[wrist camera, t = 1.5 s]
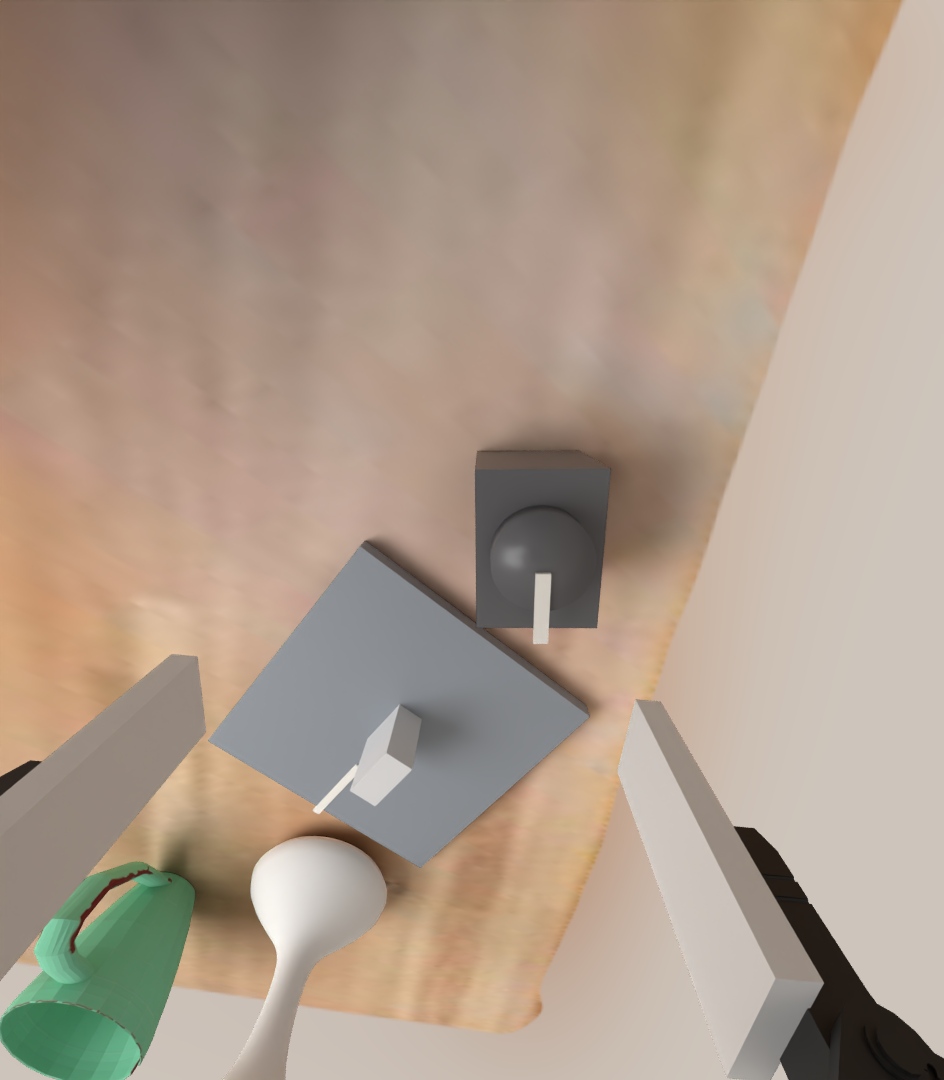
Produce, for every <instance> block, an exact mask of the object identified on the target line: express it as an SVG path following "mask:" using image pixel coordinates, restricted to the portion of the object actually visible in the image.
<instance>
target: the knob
mask: <svg viewBox="0 0 944 1080" xmlns="http://www.w3.org/2000/svg"><path fill="white" fill-rule="evenodd" d="M610 473H611V468H609V467H607V466H606V465H604V464H602V463H600V462H599V461H597V460H595V459H593V458H592V457H590V456H588V455H586V454H585V453H583V452H581V451H579V450H572V451H477V457H476V466H475V514H476V628H533V644H548V633H549V628H597V622H598V611H599V599H600V588H601V576H602V565H603V553H604V542H605V531H606V519H607V508H608V496H609V485H610Z"/></svg>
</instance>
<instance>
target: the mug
mask: <svg viewBox="0 0 944 1080" xmlns="http://www.w3.org/2000/svg"><path fill="white" fill-rule="evenodd" d="M130 880H134V881H136V882H138V884H137V885H136V886H134V887H133V888H132V889H131V890H129V891H128V892H127V893H126V894H124V895H123V896H122V897H121V898H119V899H118V900H117V901H116V902H115V903H114V904H112V905H111V906H110V907H109V908H108V909H107V910H106V911H105V912H104V913H102V914H101V915H100V916H99V917H98V918H97V919H96V920H95V921H93V922H92V923H91V924H90V925H89V926H88V927H87V928H86V929H85V930H83V931H82V932H81V933H80V934H79V935H78V933H79V931H80V929H81V926H82V924H83V922H84V920H85V919H86V918H87V916H88V915H89V914H90V913H91V912H92V910H93V909H94V908H95V907H96V905H97V904H98V903H99V902H100V901H101V899H102V898H103V897H104V896H105V894H106V893H107V892H108V891H109V890H110V889H113V888H115V887H117V886H119V885H121V884H123V883H125V882H128V881H130ZM194 901H195V890H194V888H193V886H192V885H191V884H190V883H189V882H188V881H187V880H186V879H184V878H183V877H181V876H179V875H176V874H173V873H169V872H160V871H158V870H156V869H155V868H153V867H151V866H150V865H148V864H146V863H143V862H132V863H128V864H125V865H122V866H119V867H116V868H113V869H110V870H107V871H103V872H100V873H97V874H94V875H92V876H89V877H87V878H85V879H84V880H83V881H82V883H81V884H80V885H79V886H78V887H77V889H76V890H75V891H74V892H73V893H72V895H71V896H70V897H69V898H68V900H67V901H66V902H65V903H64V904H63V906H62V907H61V908H60V909H59V910H58V912H57V913H56V914H55V915H54V916H53V918H52V919H51V920H50V921H49V923H48V924H47V925H46V926H45V927H44V929H43V930H42V932H41V934H40V937H39V939H38V942H37V944H36V946H35V949H34V953H35V955H36V958H37V960H38V962H39V965H40V967H41V968H42V970H43V971H42V973H40V975H39V976H38V977H37V978H36V979H35V980H34V981H33V982H32V983H31V984H30V985H29V986H28V987H27V988H26V989H25V990H24V991H23V992H22V993H21V994H20V995H19V996H18V997H17V998H16V999H15V1000H14V1001H13V1002H12V1004H11V1005H10V1006H9V1007H8V1009H7V1010H6V1011H5V1013H4V1014H3V1015H2V1017H1V1020H0V1039H1V1042H2V1044H3V1045H4V1046H5V1048H6V1049H7V1050H8V1052H9V1053H10V1054H11V1055H12V1056H13V1057H14V1058H16V1059H17V1060H18V1061H20V1062H21V1063H22V1064H24V1065H25V1066H26V1067H28V1068H30V1069H32V1070H34V1071H36V1072H38V1073H40V1074H42V1075H44V1076H47V1077H51V1078H54V1079H57V1080H125V1079H126V1078H127V1077H129V1076H130V1075H131V1074H132V1073H133V1072H134V1070H135V1069H136V1067H137V1065H140V1064H141V1062H142V1060H143V1058H144V1056H145V1055H146V1053H147V1051H148V1049H149V1046H150V1044H151V1042H152V1040H153V1037H154V1034H155V1031H156V1028H157V1025H158V1023H159V1020H160V1017H161V1015H162V1012H163V1009H164V1007H165V1004H166V1002H167V999H168V996H169V993H170V990H171V987H172V984H173V981H174V978H175V975H176V972H177V969H178V966H179V963H180V959H181V956H182V952H183V948H184V945H185V941H186V938H187V934H188V930H189V926H190V921H191V916H192V911H193V906H194ZM77 935H78V936H77Z"/></svg>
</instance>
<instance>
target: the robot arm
mask: <svg viewBox="0 0 944 1080" xmlns="http://www.w3.org/2000/svg"><path fill="white" fill-rule="evenodd" d="M205 732H206V726H205V717H204V709H203V700H202V691H201V682H200V674H199V665H198V657H196V656H186V655H175V654H171V655H170V656H169V657H168V658H167V659H165V660H164V661H163V662H162V663H161V664H159V665H158V666H157V667H156V668H154V669H153V670H152V671H151V672H150V673H148V674H147V675H146V676H145V677H144V678H142V679H141V680H140V681H139V682H138V683H136V684H135V685H134V686H133V687H132V688H130V689H129V690H128V691H127V692H126V693H124V694H123V695H122V696H121V697H119V698H118V699H117V700H116V701H115V702H113V703H112V704H111V705H110V706H109V707H107V708H106V709H105V710H104V711H103V712H101V713H100V714H99V715H98V716H97V717H95V718H94V719H93V720H92V721H91V722H89V723H88V724H87V725H86V726H85V727H83V728H82V729H81V730H80V731H78V732H77V733H76V734H75V735H74V736H72V737H71V738H70V739H69V740H68V741H66V742H65V743H64V744H63V745H62V746H60V747H59V748H58V749H57V750H56V751H54V752H53V753H52V754H51V755H50V756H48V757H47V758H46V759H45V760H43V761H31V760H30V761H29V762H27V763H25V764H23V765H21V766H19V767H17V768H16V769H14V770H12V771H10V772H8V773H6V774H5V775H3V776H1V777H0V981H1V979H2V978H3V977H4V976H5V975H6V973H7V972H8V971H9V970H10V969H11V967H12V966H13V965H14V964H15V962H16V961H17V960H18V959H19V958H20V956H21V955H22V954H23V953H24V952H25V950H26V949H27V948H28V947H29V946H30V944H31V943H32V942H33V941H34V939H35V938H36V937H37V936H38V935H39V933H40V932H41V931H42V930H43V929H44V927H45V926H46V925H47V924H48V923H49V921H50V920H51V919H52V918H53V916H54V915H55V914H56V913H57V912H58V910H59V909H60V908H61V907H62V906H63V904H64V903H65V902H66V901H67V900H68V898H69V897H70V896H71V895H72V893H73V892H74V891H75V890H76V889H77V887H78V886H79V885H80V884H81V883H82V881H83V880H84V879H85V878H86V877H87V875H88V874H89V873H90V872H91V870H92V869H93V868H94V867H95V866H96V864H97V863H98V862H99V861H100V860H101V858H102V857H103V856H104V855H105V854H106V852H107V851H108V850H109V849H110V847H111V846H112V845H113V844H114V843H115V841H116V840H117V839H118V838H119V837H120V835H121V834H122V833H123V832H124V831H125V829H126V828H127V827H128V826H129V824H130V823H131V822H132V821H133V820H134V818H135V817H136V816H137V815H138V814H139V812H140V811H141V810H142V809H143V807H144V806H145V805H146V804H147V803H148V801H149V800H150V799H151V798H152V797H153V795H154V794H155V793H156V792H157V791H158V789H159V788H160V787H161V786H162V784H163V783H164V782H165V781H166V780H167V778H168V777H169V776H170V775H171V774H172V772H173V771H174V770H175V769H176V768H177V766H178V765H179V764H180V763H181V761H182V760H183V759H184V758H185V757H186V755H187V754H188V753H189V752H190V751H191V749H192V748H193V747H194V746H195V745H196V743H197V742H198V741H199V740H200V738H201V737H202V736H203V735H204V734H205ZM617 772H618V775H619V777H620V780H621V783H622V786H623V789H624V791H625V794H626V797H627V800H628V803H629V805H630V808H631V811H632V814H633V817H634V820H635V822H636V825H637V828H638V831H639V833H640V836H641V839H642V842H643V844H644V847H645V850H646V853H647V856H648V859H649V862H650V865H651V867H652V870H653V873H654V876H655V879H656V881H657V884H658V886H659V890H660V893H661V895H662V898H663V901H664V904H665V907H666V909H667V912H668V915H669V918H670V921H671V923H672V926H673V929H674V932H675V935H676V937H677V940H678V943H679V946H680V949H681V952H682V954H683V957H684V960H685V963H686V965H687V968H688V971H689V974H690V977H691V979H692V982H693V985H694V988H695V991H696V993H697V996H698V999H699V1002H700V1005H701V1008H702V1010H703V1013H704V1016H705V1019H706V1022H707V1025H708V1027H709V1030H710V1033H711V1036H712V1038H713V1041H714V1044H715V1047H716V1050H717V1053H718V1055H719V1058H720V1061H721V1064H722V1067H723V1069H724V1072H725V1075H726V1077H727V1078H732V1079H743V1080H771V1079H772V1077H773V1075H774V1073H775V1072H776V1070H777V1068H778V1066H779V1064H780V1062H781V1063H782V1066H783V1068H784V1070H785V1073H786V1075H787V1077H788V1079H789V1080H944V1058H942V1057H940V1056H939V1055H937V1054H935V1053H934V1052H933V1051H932V1050H931V1049H930V1048H929V1046H928V1045H927V1044H926V1043H925V1042H924V1041H923V1040H922V1038H921V1037H920V1036H919V1035H918V1034H917V1033H916V1032H915V1031H914V1030H913V1029H912V1028H911V1027H910V1026H908V1025H907V1024H906V1023H905V1022H904V1021H903V1020H901V1019H900V1018H899V1017H898V1016H897V1015H895V1014H894V1013H893V1012H891V1011H889V1010H887V1009H885V1008H884V1007H882V1006H880V1005H878V1004H877V1003H876V1002H875V1000H874V999H873V998H872V996H871V995H870V994H869V992H868V991H867V990H866V988H865V986H864V985H863V983H862V982H861V980H860V979H859V977H858V976H857V974H856V973H855V971H854V969H853V968H852V966H851V965H850V963H849V962H848V960H847V959H846V957H845V955H844V954H843V952H842V951H841V949H840V948H839V946H838V944H837V943H836V941H835V940H834V938H833V937H832V936H831V934H830V932H829V931H828V929H827V927H826V926H825V924H824V923H823V922H822V920H821V918H820V917H819V915H818V914H817V912H816V910H815V909H814V907H813V906H812V904H809V902H808V898H807V896H806V895H805V893H804V892H803V890H802V889H801V887H800V886H799V884H798V882H795V881H794V876H793V875H792V873H791V872H790V870H789V869H788V867H787V865H786V864H785V862H784V861H783V859H782V858H781V856H780V855H779V853H778V851H777V850H776V849H775V848H774V847H773V846H772V845H771V844H770V843H768V841H767V840H766V839H765V838H764V837H763V836H762V835H761V834H759V833H758V832H757V830H755V829H754V828H746V827H735V826H733V825H732V823H731V822H730V820H729V818H728V816H727V815H726V813H725V812H724V810H723V808H722V806H721V804H720V803H719V801H718V799H717V798H716V796H715V794H714V792H713V791H712V789H711V787H710V785H709V784H708V782H707V780H706V779H705V777H704V775H703V773H702V772H701V770H700V768H699V766H698V765H697V763H696V761H695V760H694V758H693V756H692V754H691V753H690V751H689V749H688V747H687V746H686V744H685V742H684V741H683V739H682V737H681V735H680V734H679V732H678V730H677V728H676V727H675V725H674V723H673V722H672V720H671V718H670V716H669V715H668V713H667V711H666V710H665V708H664V706H663V704H662V703H661V702H658V701H648V700H638V699H636V700H635V704H634V708H633V712H632V715H631V719H630V723H629V727H628V731H627V735H626V739H625V743H624V747H623V751H622V755H621V759H620V763H619V766H618V770H617Z"/></svg>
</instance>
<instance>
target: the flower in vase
mask: <svg viewBox="0 0 944 1080" xmlns="http://www.w3.org/2000/svg"><path fill="white" fill-rule="evenodd" d="M250 892H251V899H252V902H253V905H254V908H255V911H256V914H257V916H258V918H259V920H260V922H261V924H262V925H263V927H264V929H265V931H266V932H267V934H268V935H269V937H270V938H271V940H272V942H273V944H274V946H275V948H276V952H277V965H276V969H275V974H274V977H273V981H272V984H271V987H270V990H269V993H268V995H267V998H266V1000H265V1003H264V1005H263V1008H262V1011H261V1013H260V1015H259V1018H258V1020H257V1022H256V1024H255V1026H254V1029H253V1031H252V1033H251V1035H250V1037H249V1039H248V1041H247V1043H246V1045H245V1046H244V1048H243V1050H242V1052H241V1054H240V1056H239V1057H238V1059H237V1060H236V1062H235V1063H234V1065H233V1066H232V1068H231V1069H230V1071H229V1072H228V1073H227V1074H226V1076H225V1077H224V1078H223V1079H222V1080H285V1073H286V1061H287V1054H288V1047H289V1042H290V1037H291V1033H292V1028H293V1023H294V1019H295V1015H296V1012H297V1008H298V1005H299V1001H300V998H301V995H302V992H303V989H304V986H305V983H306V981H307V979H308V976H309V974H310V972H311V970H312V969H313V967H314V966H315V965H316V963H317V962H318V961H320V960H321V959H322V958H324V957H325V956H327V955H329V954H331V953H333V952H335V951H337V950H339V949H341V948H343V947H345V946H347V945H348V944H350V943H352V942H354V941H355V940H357V939H358V938H359V937H361V936H362V935H363V934H365V933H366V932H367V931H368V930H370V929H371V928H372V927H373V926H374V925H375V923H376V922H377V920H378V919H379V917H380V915H381V913H382V911H383V910H384V907H385V905H386V901H387V888H386V884H385V881H384V878H383V876H382V873H381V871H380V869H379V867H378V866H377V865H376V863H375V862H374V861H373V860H372V859H371V858H370V857H369V856H368V855H367V854H366V853H364V852H363V851H362V850H360V849H358V848H357V847H355V846H353V845H351V844H349V843H346V842H344V841H341V840H338V839H334V838H329V837H322V836H304V837H297V838H293V839H290V840H287V841H284V842H282V843H280V844H278V845H277V846H275V847H274V848H272V849H271V850H269V851H268V852H267V853H265V854H264V855H263V856H262V857H261V858H260V859H259V861H258V862H257V863H256V865H255V867H254V870H253V873H252V880H251V890H250Z"/></svg>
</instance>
